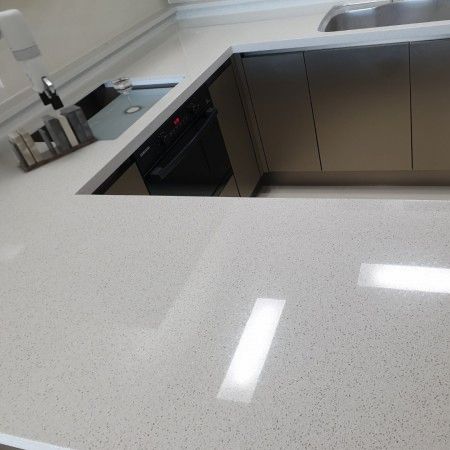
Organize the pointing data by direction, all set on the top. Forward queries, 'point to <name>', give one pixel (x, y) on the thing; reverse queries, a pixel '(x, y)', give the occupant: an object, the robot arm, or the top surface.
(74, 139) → the cream book
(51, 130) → the book shelf
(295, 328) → the top surface
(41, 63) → the robot arm
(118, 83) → the wineglass
